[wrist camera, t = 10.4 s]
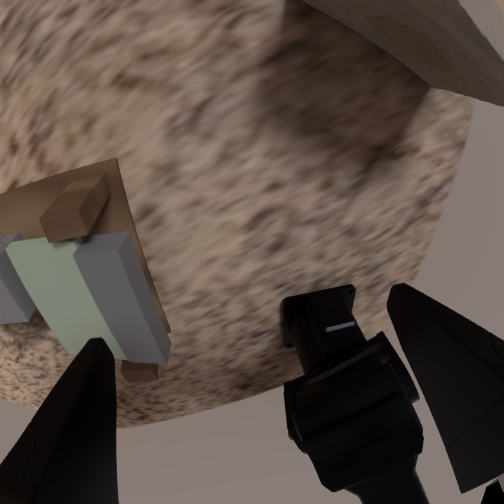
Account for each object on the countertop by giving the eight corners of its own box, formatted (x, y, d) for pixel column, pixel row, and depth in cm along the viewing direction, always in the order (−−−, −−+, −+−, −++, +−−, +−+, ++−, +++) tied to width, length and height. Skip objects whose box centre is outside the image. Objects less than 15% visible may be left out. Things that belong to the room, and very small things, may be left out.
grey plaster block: (444, 52, 15) (549, 74, 7) (430, 88, 17) (535, 123, 9) (306, -43, 11) (394, -102, 3) (285, -3, 12) (369, -55, 5)
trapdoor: (173, 347, 20) (168, 368, 19) (74, 341, 21) (66, 359, 19) (127, 223, 14) (114, 242, 13) (15, 237, 15) (0, 253, 13)
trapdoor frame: (170, 329, 25) (170, 383, 20) (64, 340, 24) (52, 387, 19) (116, 158, 16) (89, 193, 12) (-10, 198, 15) (-51, 238, 11)
